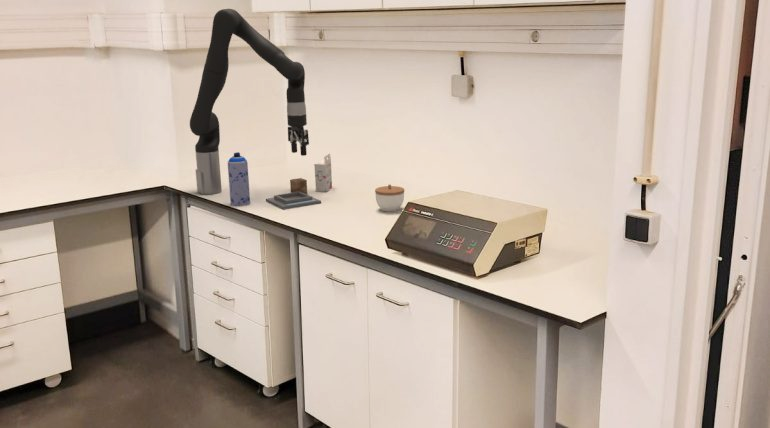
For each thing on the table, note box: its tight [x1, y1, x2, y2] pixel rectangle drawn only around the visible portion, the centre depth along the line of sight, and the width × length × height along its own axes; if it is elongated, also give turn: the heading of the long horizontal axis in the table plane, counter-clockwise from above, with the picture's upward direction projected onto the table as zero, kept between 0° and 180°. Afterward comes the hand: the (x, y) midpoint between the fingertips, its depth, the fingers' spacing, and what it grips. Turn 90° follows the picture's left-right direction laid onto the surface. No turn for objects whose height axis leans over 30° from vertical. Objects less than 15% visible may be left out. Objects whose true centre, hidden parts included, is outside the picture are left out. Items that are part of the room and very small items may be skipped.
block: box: [289, 177, 308, 195], centre depth 290 cm, size 5×5×6 cm
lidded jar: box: [374, 184, 405, 213], centre depth 263 cm, size 11×11×9 cm
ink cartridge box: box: [313, 153, 333, 193], centre depth 296 cm, size 9×5×15 cm, turn 168°
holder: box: [265, 191, 322, 210], centre depth 277 cm, size 16×16×2 cm
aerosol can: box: [227, 151, 252, 207], centre depth 274 cm, size 8×8×20 cm
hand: (299, 153), depth 287 cm, fingers open, 8 cm apart
